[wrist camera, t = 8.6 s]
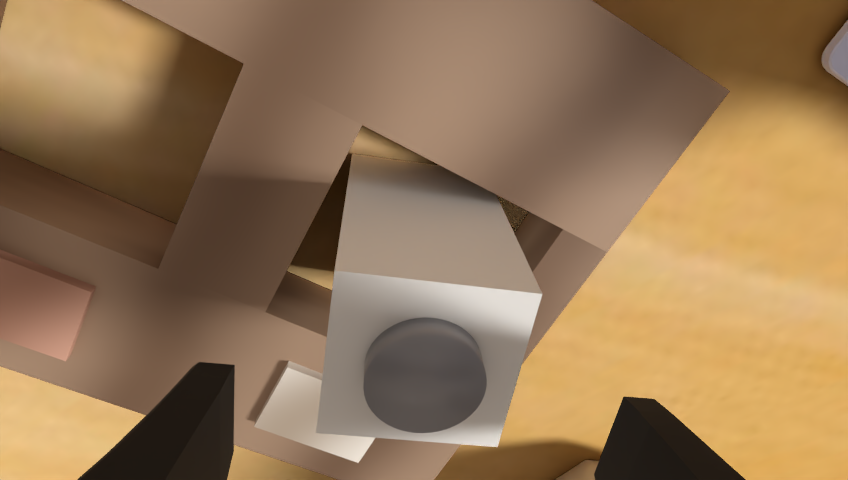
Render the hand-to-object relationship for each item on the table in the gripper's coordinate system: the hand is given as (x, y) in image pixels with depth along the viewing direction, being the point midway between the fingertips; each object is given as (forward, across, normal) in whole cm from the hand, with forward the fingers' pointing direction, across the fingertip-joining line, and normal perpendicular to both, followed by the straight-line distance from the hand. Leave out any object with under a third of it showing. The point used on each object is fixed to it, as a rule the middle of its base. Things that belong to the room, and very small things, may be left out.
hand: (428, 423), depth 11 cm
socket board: (+8, +4, -2) cm, 9 cm away
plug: (+8, 0, 0) cm, 8 cm away
